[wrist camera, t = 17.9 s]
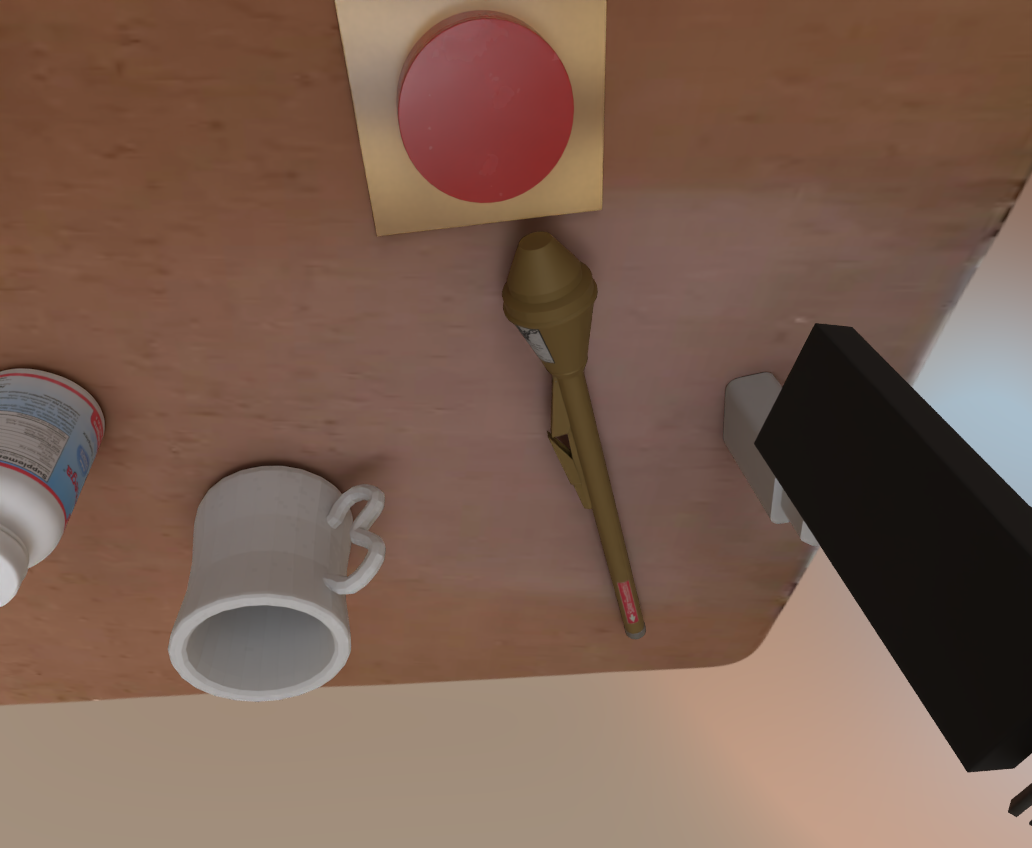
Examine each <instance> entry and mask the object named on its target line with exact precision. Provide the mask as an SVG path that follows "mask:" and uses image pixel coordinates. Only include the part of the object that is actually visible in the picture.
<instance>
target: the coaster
mask: <svg viewBox="0 0 1032 848" xmlns="http://www.w3.org/2000/svg"><path fill="white" fill-rule="evenodd" d="M334 2H335V7H336V13H337V18H338V24H339V30H340V35H341V41H342V46H343V52H344V57H345V63H346V68H347V74H348V79H349V85H350V91H351V96H352V102H353V107H354V113H355V118H356V124H357V129H358V135H359V141H360V146H361V152H362V157H363V163H364V168H365V174H366V179H367V185H368V190H369V196H370V202H371V207H372V213H373V218H374V224H375V229H376V235H377V236H386V235H394V234H403V233H411V232H419V231H428V230H436V229H445V228H453V227H461V226H470V225H478V224H486V223H495V222H503V221H512V220H520V219H528V218H537V217H545V216H553V215H562V214H570V213H579V212H587V211H595V210H602V188H603V142H604V97H605V52H606V6H607V0H334ZM474 10H491V11H497V12H502V13H505V14H508V15H512V16H514V17H516V18H518V19H520V20H522V21H523V22H525V23H526V24H528V25H529V26H531V27H532V28H533V29H534V30H536V31H537V32H538V33H539V34H540V35H541V36H542V37H543V38H544V39H545V41H546V42H547V43H548V44H549V45H550V46H551V47H552V49H553V50H554V51H555V52H556V53H557V55H558V57H559V58H560V60H561V61H562V63H563V65H564V67H565V69H566V72H567V74H568V76H569V80H570V83H571V86H572V92H573V98H574V117H573V125H572V130H571V134H570V137H569V140H568V143H567V146H566V148H565V150H564V152H563V154H562V156H561V158H560V159H559V161H558V163H557V164H556V166H555V167H554V168H553V169H552V171H551V172H550V173H549V174H548V175H547V176H546V177H545V178H544V179H543V180H542V181H541V182H540V183H538V184H537V185H536V186H534V187H533V188H532V189H530V190H528V191H527V192H525V193H523V194H521V195H519V196H516V197H514V198H511V199H508V200H504V201H500V202H494V203H475V202H468V201H464V200H460V199H457V198H454V197H452V196H449V195H447V194H445V193H444V192H442V191H440V190H438V189H437V188H436V187H434V186H433V185H431V184H430V183H429V182H428V181H427V180H426V179H425V178H424V177H423V176H422V175H421V174H420V173H419V171H418V170H417V169H416V168H415V166H414V165H413V163H412V161H411V160H410V158H409V156H408V154H407V152H406V150H405V148H404V145H403V141H402V138H401V134H400V129H399V124H398V117H397V107H396V95H397V86H398V81H399V76H400V73H401V70H402V67H403V64H404V62H405V60H406V58H407V56H408V54H409V53H410V51H411V50H412V48H413V47H414V45H415V44H416V42H417V41H418V40H419V39H420V38H421V37H422V36H423V35H424V34H425V33H426V32H427V31H428V30H429V29H430V28H432V27H433V26H434V25H436V24H437V23H439V22H441V21H442V20H444V19H446V18H448V17H451V16H453V15H456V14H459V13H462V12H466V11H474Z"/></svg>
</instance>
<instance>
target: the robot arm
mask: <svg viewBox="0 0 1032 848" xmlns="http://www.w3.org/2000/svg"><path fill="white" fill-rule="evenodd" d="M754 445H755V446H756V448H757V449H758V451H759V453H760V454H761V456H762V457H763V459H764V460H765V462H766V463H767V465H768V466H769V468H770V469H771V471H772V473H773V474H774V476H775V477H776V479H777V480H778V482H779V483H780V485H781V486H782V488H783V489H784V491H785V493H786V494H787V496H788V497H789V499H790V500H791V502H792V503H793V505H794V506H795V508H796V509H797V511H798V513H799V514H800V516H801V517H802V519H803V520H804V522H805V523H806V525H807V526H808V528H809V529H810V531H811V533H812V534H813V536H814V537H815V539H816V540H817V542H818V543H819V545H820V546H821V548H822V549H823V551H824V552H825V554H826V556H827V557H828V559H829V560H830V562H831V563H832V565H833V566H834V568H835V569H836V571H837V572H838V574H839V576H840V577H841V579H842V580H843V582H844V583H845V585H846V586H847V588H848V589H849V591H850V592H851V594H852V596H853V597H854V599H855V600H856V602H857V603H858V605H859V606H860V608H861V609H862V611H863V612H864V614H865V615H866V617H867V619H868V620H869V622H870V623H871V625H872V626H873V628H874V629H875V631H876V632H877V634H878V636H879V637H880V639H881V640H882V642H883V643H884V645H885V646H886V648H887V649H888V651H889V652H890V654H891V656H892V657H893V659H894V660H895V662H896V663H897V664H898V666H899V668H900V669H901V671H902V672H903V674H904V675H905V677H906V679H907V680H908V682H909V683H910V685H911V686H912V688H913V689H914V691H915V692H916V694H917V695H918V697H919V699H920V700H921V702H922V703H923V705H924V706H925V708H926V709H927V711H928V712H929V714H930V715H931V717H932V719H933V720H934V722H935V723H936V725H937V726H938V728H939V729H940V731H941V732H942V734H943V735H944V737H945V739H946V740H947V741H948V743H949V745H950V746H951V748H952V749H953V751H954V752H955V754H956V755H957V757H958V758H959V760H960V761H961V763H962V765H963V766H964V768H965V769H966V771H967V772H978V771H990V770H1001V769H1013V768H1015V767H1016V766H1017V765H1018V764H1020V763H1021V762H1022V761H1023V760H1024V759H1026V758H1027V757H1028V756H1029V755H1030V754H1031V753H1032V507H1030V506H1029V505H1028V504H1027V503H1026V502H1025V501H1024V500H1023V499H1022V498H1021V497H1020V496H1019V495H1018V494H1017V493H1016V492H1015V491H1014V490H1013V489H1012V488H1011V487H1010V486H1009V485H1008V484H1007V483H1006V482H1005V481H1004V480H1003V479H1002V478H1001V477H1000V476H999V475H998V474H997V473H996V472H995V471H994V470H993V469H992V468H991V467H990V466H989V465H988V464H987V463H986V462H985V461H984V460H983V459H982V458H981V457H980V456H979V455H978V454H977V453H976V452H975V451H974V450H973V448H971V447H970V445H968V444H967V443H966V442H965V441H964V439H963V438H961V436H959V434H958V433H957V432H956V431H955V430H954V429H953V428H952V427H951V426H950V425H949V424H948V423H947V422H946V421H945V420H944V419H943V418H942V417H941V416H940V415H939V414H938V413H937V412H936V411H935V410H934V409H933V408H932V407H931V406H930V405H929V404H928V403H927V402H926V401H925V400H924V399H923V398H922V397H921V396H920V395H919V394H918V393H917V392H916V391H915V390H914V389H913V388H912V387H911V386H910V385H909V384H908V383H907V382H906V381H905V380H904V379H903V378H902V377H901V376H900V375H899V374H898V373H897V372H896V371H895V370H894V369H893V368H892V367H891V366H890V365H889V364H888V363H887V362H886V361H885V360H884V359H883V358H882V357H881V356H880V355H879V354H878V353H877V352H876V351H875V350H874V349H873V348H872V347H871V346H870V345H869V344H868V343H867V342H866V341H865V340H864V338H863V337H862V336H861V335H860V334H859V333H858V332H857V331H856V330H855V329H854V328H853V327H847V326H837V325H828V324H818V323H815V325H814V327H813V329H812V331H811V333H810V335H809V336H808V338H807V340H806V342H805V344H804V346H803V348H802V350H801V352H800V354H799V356H798V358H797V360H796V362H795V364H794V366H793V368H792V370H791V372H790V374H789V375H788V377H787V379H786V381H785V383H784V385H783V387H782V389H781V391H780V393H779V395H778V397H777V399H776V401H775V403H774V405H773V407H772V409H771V411H770V413H769V414H768V416H767V418H766V420H765V422H764V424H763V426H762V428H761V430H760V432H759V434H758V436H757V438H756V440H755V442H754ZM1031 805H1032V783H1031V784H1030V785H1029V786H1028V787H1026V788H1025V789H1024V790H1023V791H1022V792H1020V793H1019V794H1018V795H1017V796H1015V797H1014V798H1013V799H1012V800H1011V803H1010V806H1009V810H1008V813H1010V814H1012V815H1014V816H1016V817H1017V816H1019V815H1020V814H1021V813H1022V812H1024V811H1025V810H1026V809H1027V808H1029V807H1030V806H1031ZM1029 824H1030V825H1031V826H1032V820H1031V821H1030V822H1029Z"/></svg>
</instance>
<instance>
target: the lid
mask: <svg viewBox="0 0 1032 848" xmlns="http://www.w3.org/2000/svg"><path fill="white" fill-rule="evenodd" d="M396 107H397V117H398V124H399V129H400V134H401V138H402V141H403V145H404V148H405V150H406V152H407V154H408V156H409V158H410V160H411V161H412V163H413V165H414V166H415V168H416V169H417V170H418V171H419V173H420V174H421V175H422V176H423V177H424V178H425V179H426V180H427V181H428V182H429V183H430V184H431V185H433V186H434V187H436V188H437V189H438V190H440V191H442V192H444V193H445V194H447V195H449V196H452V197H454V198H457V199H460V200H464V201H468V202H475V203H494V202H500V201H504V200H508V199H511V198H514V197H516V196H519V195H521V194H523V193H525V192H527V191H528V190H530V189H532V188H533V187H534V186H536V185H537V184H538V183H540V182H541V181H542V180H543V179H544V178H545V177H546V176H547V175H548V174H549V173H550V172H551V171H552V169H553V168H554V167H555V166H556V164H557V163H558V161H559V159H560V158H561V156H562V154H563V152H564V150H565V148H566V146H567V143H568V140H569V137H570V134H571V130H572V125H573V117H574V98H573V92H572V86H571V83H570V80H569V76H568V74H567V72H566V69H565V67H564V65H563V63H562V61H561V60H560V58H559V57H558V55H557V53H556V52H555V51H554V50H553V49H552V47H551V46H550V45H549V44H548V43H547V42H546V41H545V39H544V38H543V37H542V36H541V35H540V34H539V33H538V32H537V31H536V30H534V29H533V28H532V27H531V26H529V25H528V24H526V23H525V22H523V21H522V20H520V19H518V18H516V17H514V16H512V15H508V14H505V13H502V12H497V11H491V10H474V11H466V12H462V13H459V14H456V15H453V16H451V17H448V18H446V19H444V20H442V21H441V22H439V23H437V24H436V25H434V26H433V27H432V28H430V29H429V30H428V31H427V32H426V33H425V34H424V35H423V36H422V37H421V38H420V39H419V40H418V41H417V42H416V44H415V45H414V47H413V48H412V50H411V51H410V53H409V54H408V56H407V58H406V60H405V62H404V64H403V67H402V70H401V73H400V76H399V81H398V86H397V95H396Z"/></svg>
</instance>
